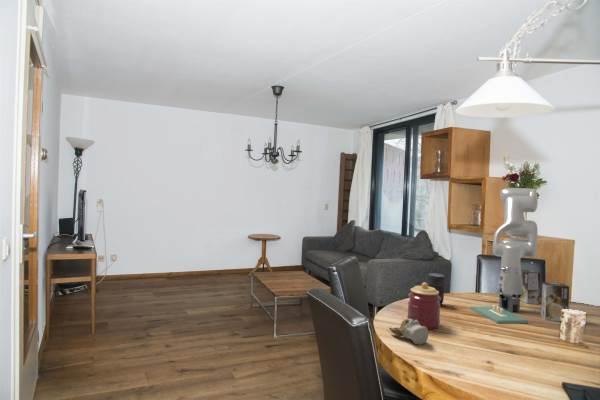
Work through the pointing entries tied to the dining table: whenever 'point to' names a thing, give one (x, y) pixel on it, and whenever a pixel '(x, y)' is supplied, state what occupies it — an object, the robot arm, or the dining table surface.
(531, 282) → the coffee box
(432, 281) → the camera lens
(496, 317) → the header board
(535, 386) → the dining table surface
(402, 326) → the ceramic sculpture
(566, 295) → the coffee box
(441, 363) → the dining table surface
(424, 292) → the canister
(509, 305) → the block
